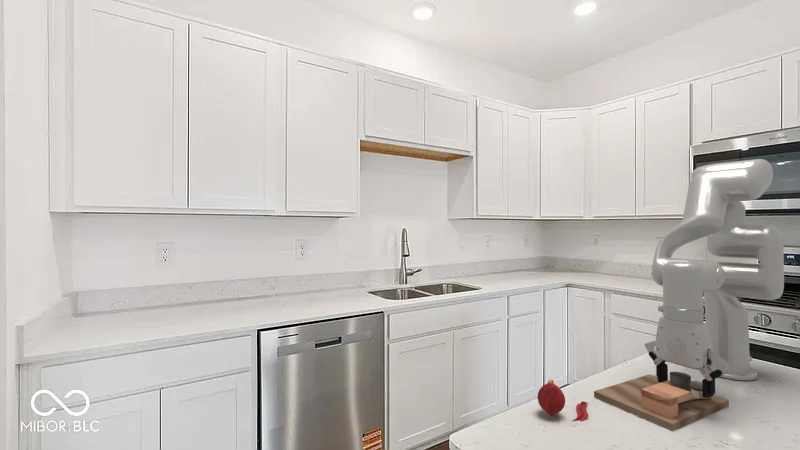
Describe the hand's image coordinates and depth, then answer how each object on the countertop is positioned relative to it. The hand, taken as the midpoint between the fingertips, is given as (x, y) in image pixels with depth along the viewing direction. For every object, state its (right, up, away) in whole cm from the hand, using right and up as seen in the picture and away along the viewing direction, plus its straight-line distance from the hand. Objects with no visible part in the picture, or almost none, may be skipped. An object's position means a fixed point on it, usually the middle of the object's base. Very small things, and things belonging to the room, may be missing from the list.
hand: (684, 388), depth 89 cm
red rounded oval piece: (-32, -5, -3) cm, 33 cm away
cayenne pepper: (-25, -5, -1) cm, 25 cm away
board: (-4, -5, +3) cm, 7 cm away
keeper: (-7, -3, -3) cm, 8 cm away
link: (+1, -3, +1) cm, 3 cm away
